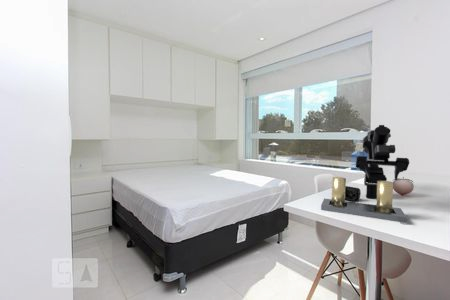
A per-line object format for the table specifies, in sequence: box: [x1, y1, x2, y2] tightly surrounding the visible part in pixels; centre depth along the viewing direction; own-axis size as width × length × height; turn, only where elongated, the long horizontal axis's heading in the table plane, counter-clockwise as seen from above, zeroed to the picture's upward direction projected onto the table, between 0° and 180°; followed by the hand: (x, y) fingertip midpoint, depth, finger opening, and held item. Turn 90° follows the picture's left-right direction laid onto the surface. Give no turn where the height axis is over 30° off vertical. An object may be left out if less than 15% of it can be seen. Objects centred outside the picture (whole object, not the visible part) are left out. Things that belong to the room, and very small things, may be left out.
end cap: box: [345, 185, 362, 202], centre depth 110 cm, size 10×7×7 cm
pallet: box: [320, 198, 408, 225], centre depth 91 cm, size 28×12×2 cm, turn 61°
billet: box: [331, 176, 347, 207], centre depth 94 cm, size 5×5×13 cm
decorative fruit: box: [391, 176, 415, 196], centre depth 118 cm, size 9×8×10 cm
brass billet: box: [375, 180, 394, 213], centre depth 87 cm, size 5×5×13 cm
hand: (382, 178), depth 93 cm, fingers open, 9 cm apart
